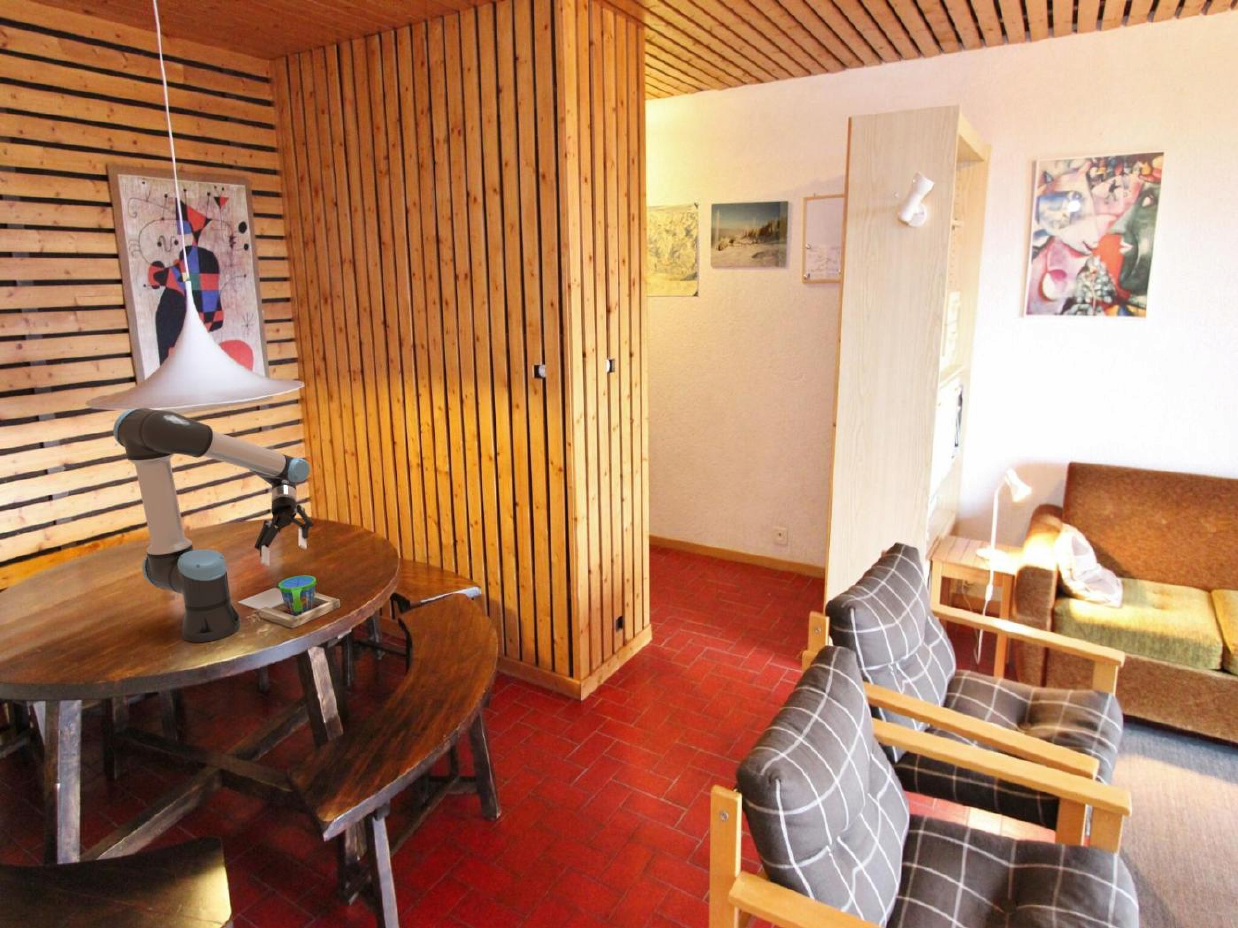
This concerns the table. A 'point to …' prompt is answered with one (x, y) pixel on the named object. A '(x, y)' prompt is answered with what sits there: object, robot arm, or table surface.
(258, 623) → the table surface
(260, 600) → the grey mat
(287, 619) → the wooden frame
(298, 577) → the snack cup
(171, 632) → the table surface
